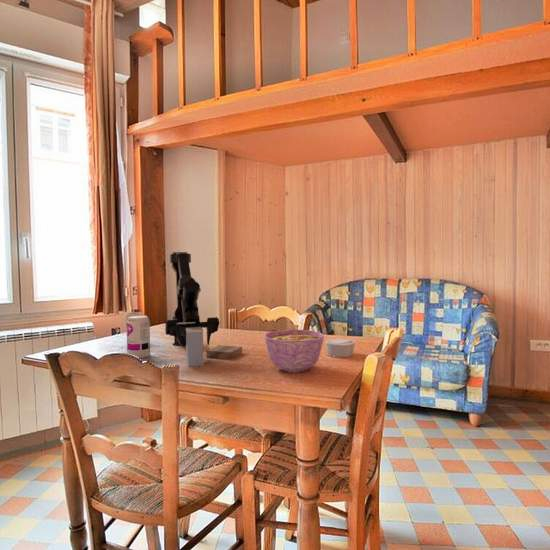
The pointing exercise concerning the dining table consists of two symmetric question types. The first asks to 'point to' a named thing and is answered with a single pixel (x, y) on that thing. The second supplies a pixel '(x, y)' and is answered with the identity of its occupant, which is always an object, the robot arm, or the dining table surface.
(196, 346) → the tin
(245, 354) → the dining table surface
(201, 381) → the dining table surface
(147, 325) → the supplement can
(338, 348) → the ramekin
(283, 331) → the bowl of food
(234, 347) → the brown square tray
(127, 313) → the character mug
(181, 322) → the robot arm
